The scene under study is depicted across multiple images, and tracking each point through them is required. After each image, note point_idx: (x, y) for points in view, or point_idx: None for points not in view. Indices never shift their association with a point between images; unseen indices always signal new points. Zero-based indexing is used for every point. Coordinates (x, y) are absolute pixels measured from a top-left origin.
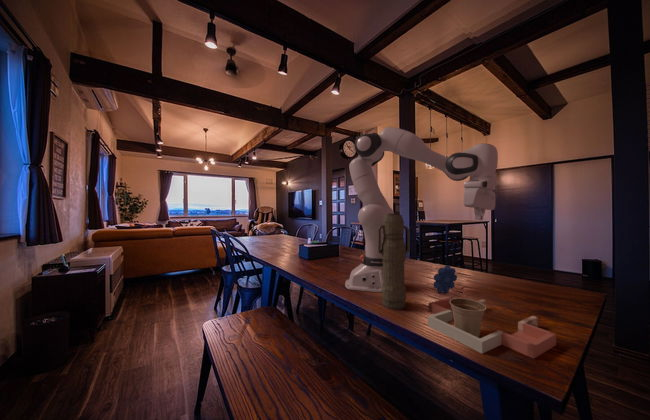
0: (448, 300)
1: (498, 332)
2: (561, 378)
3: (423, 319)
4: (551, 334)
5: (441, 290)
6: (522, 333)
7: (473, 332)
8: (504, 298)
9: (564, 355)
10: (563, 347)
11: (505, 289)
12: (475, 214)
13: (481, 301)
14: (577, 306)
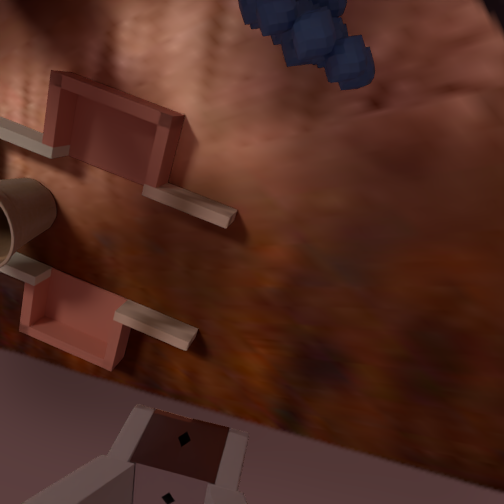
0: (139, 117)
1: (23, 276)
2: (11, 346)
3: (9, 84)
4: (101, 363)
5: (271, 37)
6: None
7: (6, 226)
8: (402, 264)
9: None
10: (124, 366)
11: None
12: (87, 469)
13: (205, 218)
14: (460, 446)
